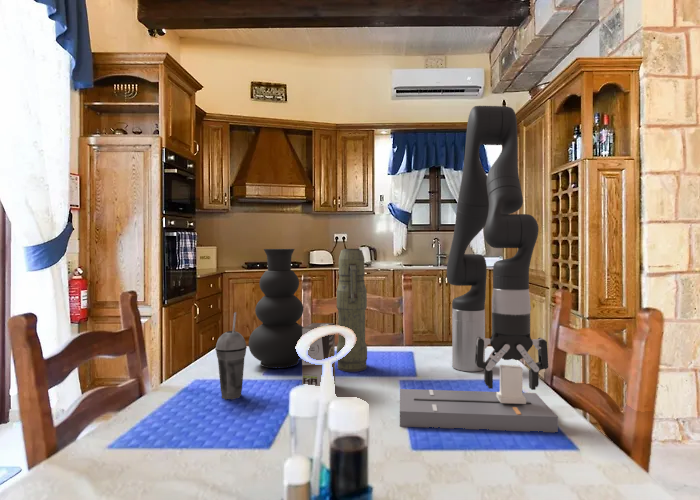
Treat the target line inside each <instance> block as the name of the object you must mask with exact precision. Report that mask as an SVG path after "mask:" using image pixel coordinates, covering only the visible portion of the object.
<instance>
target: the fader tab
mask: <svg viewBox="0 0 700 500" xmlns="http://www.w3.org/2000/svg"><path fill="white" fill-rule="evenodd" d="M495 392H496V397H497V398H498V400H499V401H500V403H515V404H526V398H525V397H524V396H523V395H522V393H523V368H522V366H520V365H519V364H499V391H495Z"/></svg>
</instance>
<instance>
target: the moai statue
mask: <svg viewBox="0 0 700 500" xmlns="http://www.w3.org/2000/svg"><path fill="white" fill-rule="evenodd" d="M365 271H366V269H365V256H364V253H363V250H361V249H360V248H343V249H341V250H340V253H339V257H338V277H339V279H338V285H337V289H336V308H337V313H338V316H337V317H338V319H337V320H338V321H337V322H338V323H337V324H338V325H340V326H345V327H348V328H350V329H352V330H353V331H354V333H355V334H356V337H357V341H356V344H355V346H354V347H353V348H352V349H351V351H350V352H349V353H348V354H347V355H346V356H345V357H343V358H342V359H340V360H338V361H337V367H336V369H338V370H339V371H343V372H349V373H351V372H352V373H354V372H356V373H357V372H361V371H365V370H367V367H368V366H367V365H368V364H367V360H368V346H367V343H366V309H367V306H368V305H367V304H368V303H367V302H368V299H367V298H368V295H367V294H368V293H367V292H368V291H367V286H366V283H365V282H366V281H365ZM336 344H337V346H336V354H337V353H338V352H339V351H340V350H341V349H342V348H343V347H344V345H345V338H344V337H343V336H341V335H339V334H338V341H337V343H336Z"/></svg>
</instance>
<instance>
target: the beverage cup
mask: <svg viewBox="0 0 700 500" xmlns="http://www.w3.org/2000/svg"><path fill="white" fill-rule="evenodd" d="M232 320H233V321H232V330H229V331H226V332H224V333H222V334H221V335H220V336H219V337H218V339H217V342H216V345H215V351H216V357H217V362H218V363H217V366H218V374H219V384H220V387H219V388H220V394H221V398H222V399H223V398H224V399H223V400H227V399H231V400H236V398H237V399H239V398H241V397H242V391H243V381H244V370H245V368H244V367H245V358H246V353H247V348H248V347H247V342H246V340H245V338H244V336H243V335H242V334H241V333H240V332H238V331H236V320H237V311H236V312H234V313H233V319H232ZM240 396H241V397H240Z"/></svg>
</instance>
